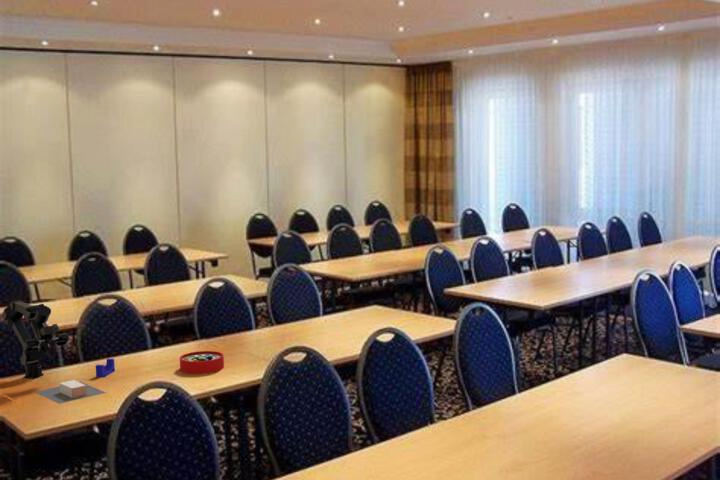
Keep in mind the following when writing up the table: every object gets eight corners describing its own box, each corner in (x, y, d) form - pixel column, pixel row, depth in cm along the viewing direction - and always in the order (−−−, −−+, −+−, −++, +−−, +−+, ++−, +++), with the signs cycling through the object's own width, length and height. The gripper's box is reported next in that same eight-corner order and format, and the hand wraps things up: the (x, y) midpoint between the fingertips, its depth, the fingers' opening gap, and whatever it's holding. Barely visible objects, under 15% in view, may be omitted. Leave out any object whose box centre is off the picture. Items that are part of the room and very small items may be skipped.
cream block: (59, 383, 341) (72, 388, 332) (73, 380, 345) (86, 385, 337) (60, 392, 341) (73, 398, 333) (74, 389, 346) (87, 394, 337)
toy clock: (170, 357, 376) (205, 348, 391) (171, 369, 376) (206, 360, 391) (197, 364, 362) (232, 355, 377) (198, 377, 363) (233, 367, 378)
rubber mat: (35, 393, 343) (34, 391, 343) (80, 383, 357) (80, 381, 357) (59, 405, 326) (59, 403, 326) (106, 393, 340) (106, 392, 340)
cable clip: (105, 371, 376) (104, 358, 375) (114, 371, 375) (114, 358, 375) (93, 378, 364) (92, 365, 364) (102, 378, 364) (101, 365, 363)
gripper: (23, 322, 347) (36, 351, 341) (66, 315, 360) (78, 343, 353) (17, 337, 354) (29, 366, 347) (59, 330, 367) (71, 358, 360)
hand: (53, 358), depth 352 cm, fingers closed
